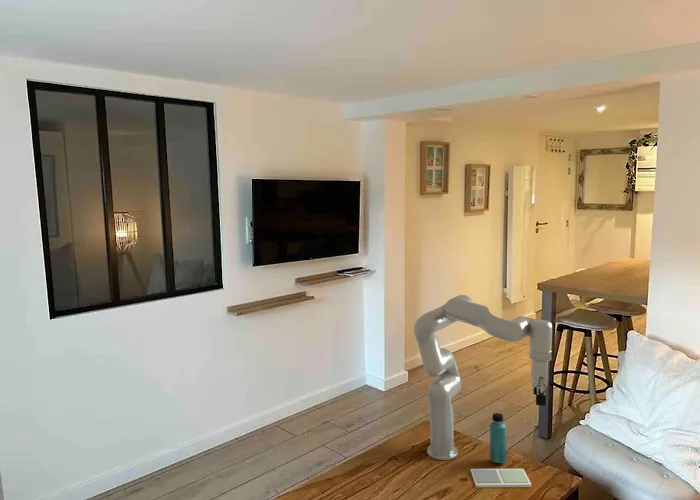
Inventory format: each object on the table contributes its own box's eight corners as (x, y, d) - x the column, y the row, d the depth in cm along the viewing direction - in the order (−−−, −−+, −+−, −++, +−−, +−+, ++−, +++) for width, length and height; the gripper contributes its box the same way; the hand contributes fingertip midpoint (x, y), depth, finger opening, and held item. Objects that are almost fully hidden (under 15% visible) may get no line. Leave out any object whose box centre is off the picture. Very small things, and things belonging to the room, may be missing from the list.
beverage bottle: (507, 467, 203) (507, 418, 201) (490, 466, 204) (489, 417, 202) (506, 459, 209) (506, 411, 207) (489, 458, 210) (488, 410, 208)
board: (476, 487, 190) (476, 484, 190) (470, 471, 201) (470, 468, 201) (531, 487, 189) (531, 483, 189) (523, 471, 200) (523, 467, 200)
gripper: (527, 346, 197) (526, 390, 199) (531, 361, 180) (530, 408, 182) (548, 347, 195) (547, 391, 197) (554, 362, 178) (553, 410, 180)
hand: (539, 399), depth 190 cm, fingers open, 9 cm apart
